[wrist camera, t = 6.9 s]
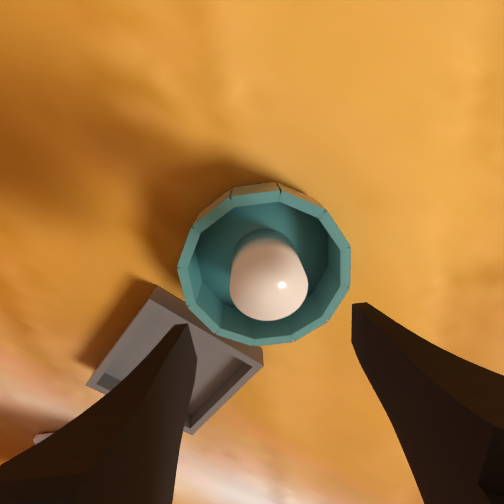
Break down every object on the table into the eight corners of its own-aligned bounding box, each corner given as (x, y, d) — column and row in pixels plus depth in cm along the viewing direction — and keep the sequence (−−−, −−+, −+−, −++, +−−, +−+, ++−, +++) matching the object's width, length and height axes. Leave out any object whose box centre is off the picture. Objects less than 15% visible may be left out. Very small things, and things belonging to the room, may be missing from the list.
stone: (236, 289, 20) (234, 323, 17) (229, 231, 19) (224, 256, 15) (296, 283, 20) (308, 317, 17) (295, 225, 18) (307, 249, 15)
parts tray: (195, 416, 26) (192, 435, 25) (96, 367, 24) (85, 385, 22) (262, 349, 23) (263, 365, 22) (157, 285, 21) (149, 298, 19)
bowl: (205, 321, 22) (198, 352, 19) (175, 193, 18) (160, 205, 15) (334, 306, 22) (349, 335, 19) (333, 172, 18) (351, 180, 15)
